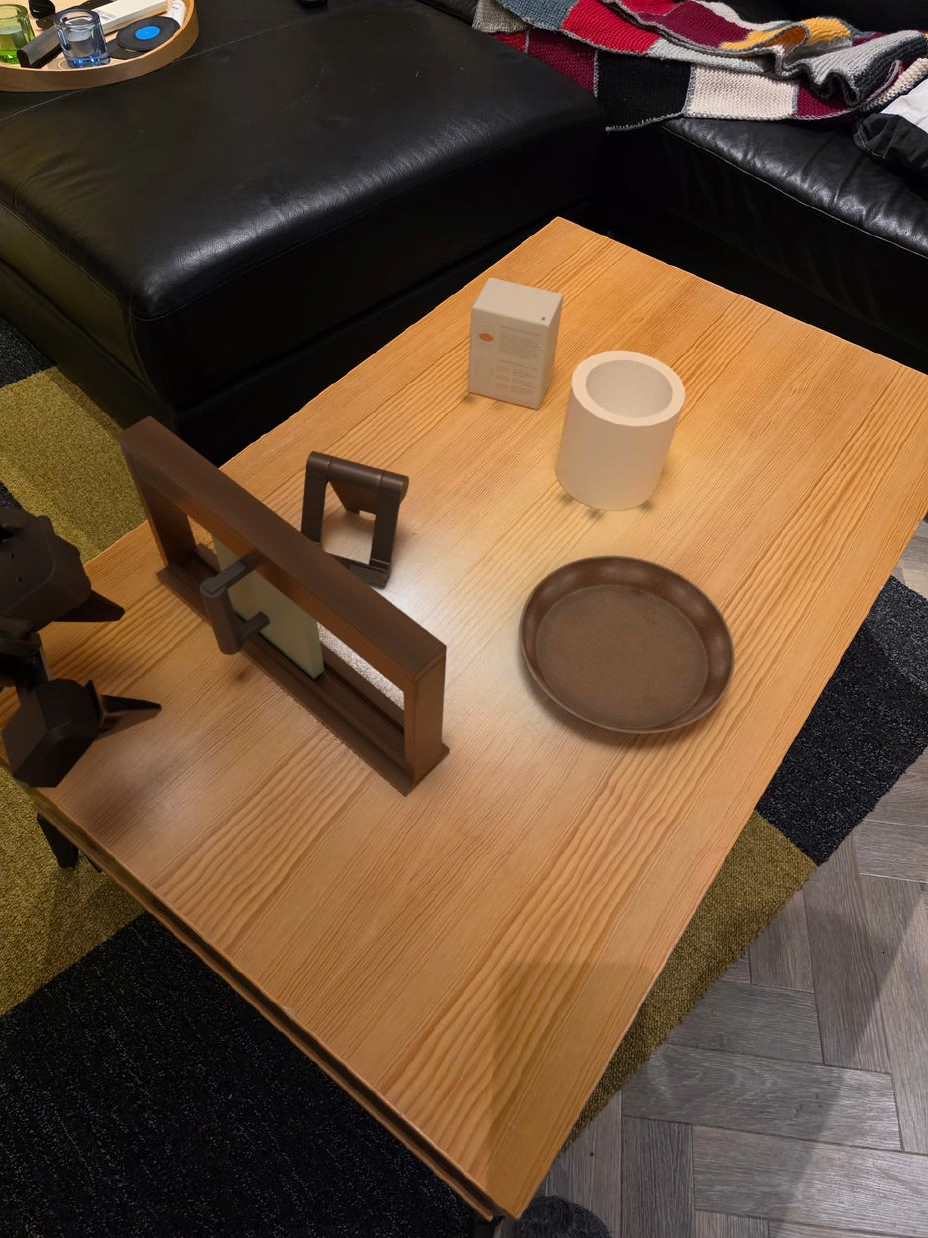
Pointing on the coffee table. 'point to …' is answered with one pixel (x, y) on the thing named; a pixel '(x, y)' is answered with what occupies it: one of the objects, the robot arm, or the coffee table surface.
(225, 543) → the door frame
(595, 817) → the coffee table surface
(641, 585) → the plant saucer
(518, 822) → the coffee table surface
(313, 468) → the tablet stand
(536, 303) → the small box
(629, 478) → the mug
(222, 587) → the door
